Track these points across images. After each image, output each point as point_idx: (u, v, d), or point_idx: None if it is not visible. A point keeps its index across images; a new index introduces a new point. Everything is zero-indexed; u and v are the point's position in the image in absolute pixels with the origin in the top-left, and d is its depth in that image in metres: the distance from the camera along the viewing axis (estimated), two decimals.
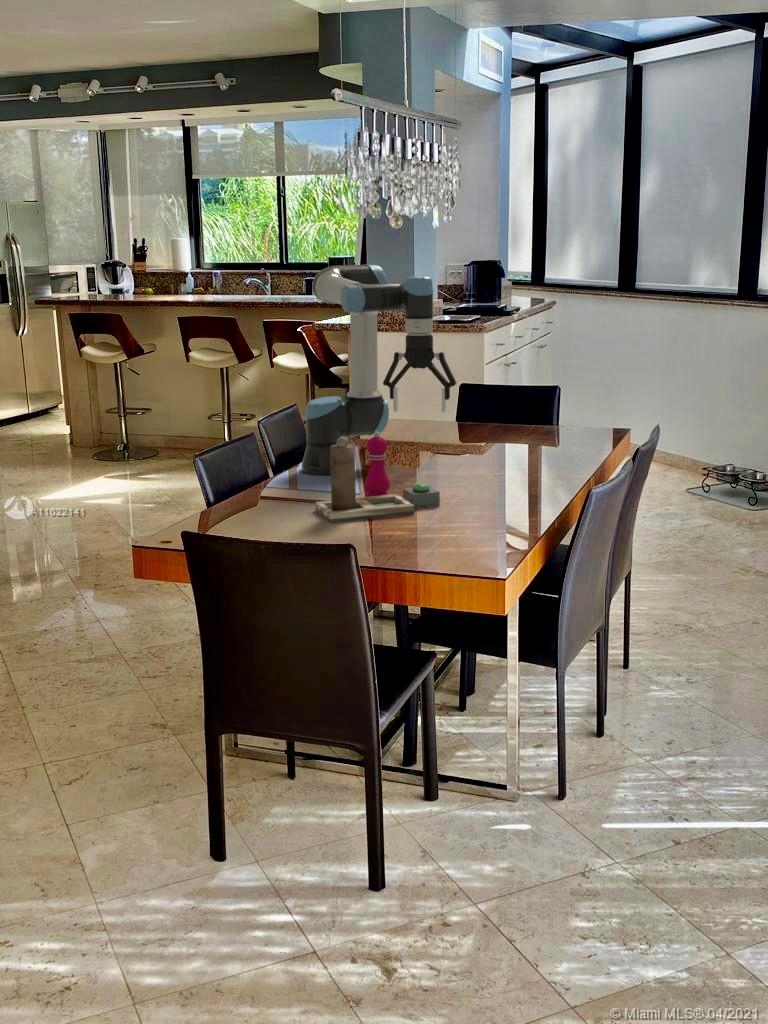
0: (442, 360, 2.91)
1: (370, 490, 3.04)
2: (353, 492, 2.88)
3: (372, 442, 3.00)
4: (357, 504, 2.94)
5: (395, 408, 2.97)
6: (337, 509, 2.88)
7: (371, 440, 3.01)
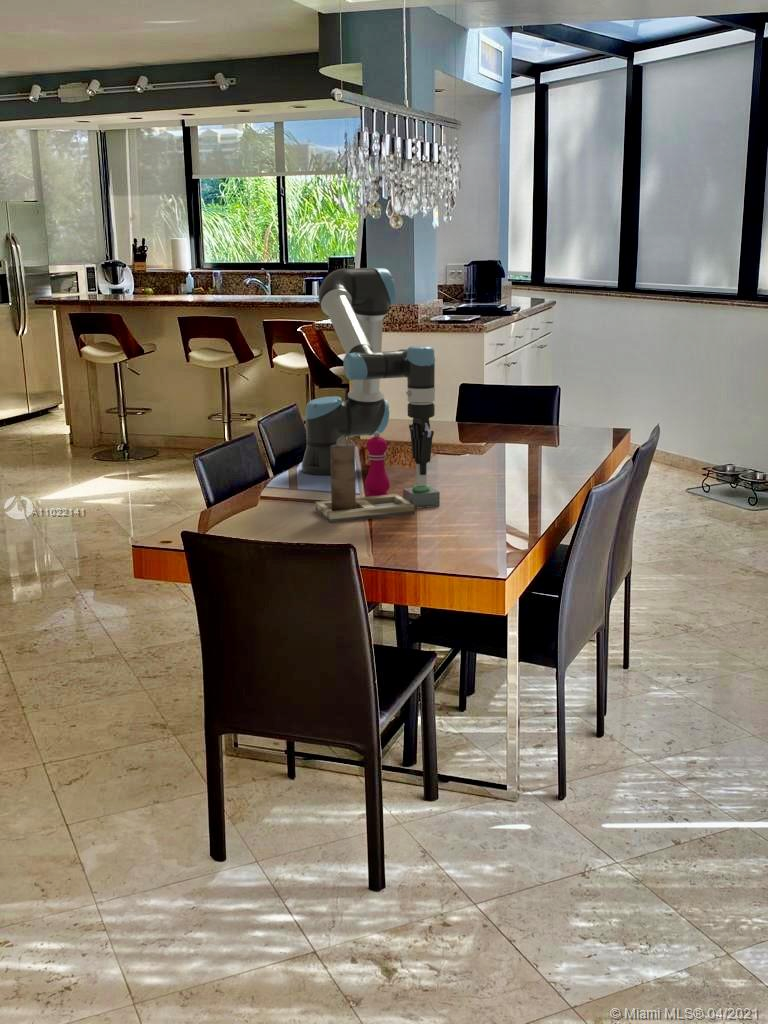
0: (423, 437, 2.92)
1: (370, 490, 3.04)
2: (353, 492, 2.88)
3: (372, 442, 3.00)
4: (357, 504, 2.94)
5: (416, 482, 3.00)
6: (337, 509, 2.88)
7: (371, 440, 3.01)
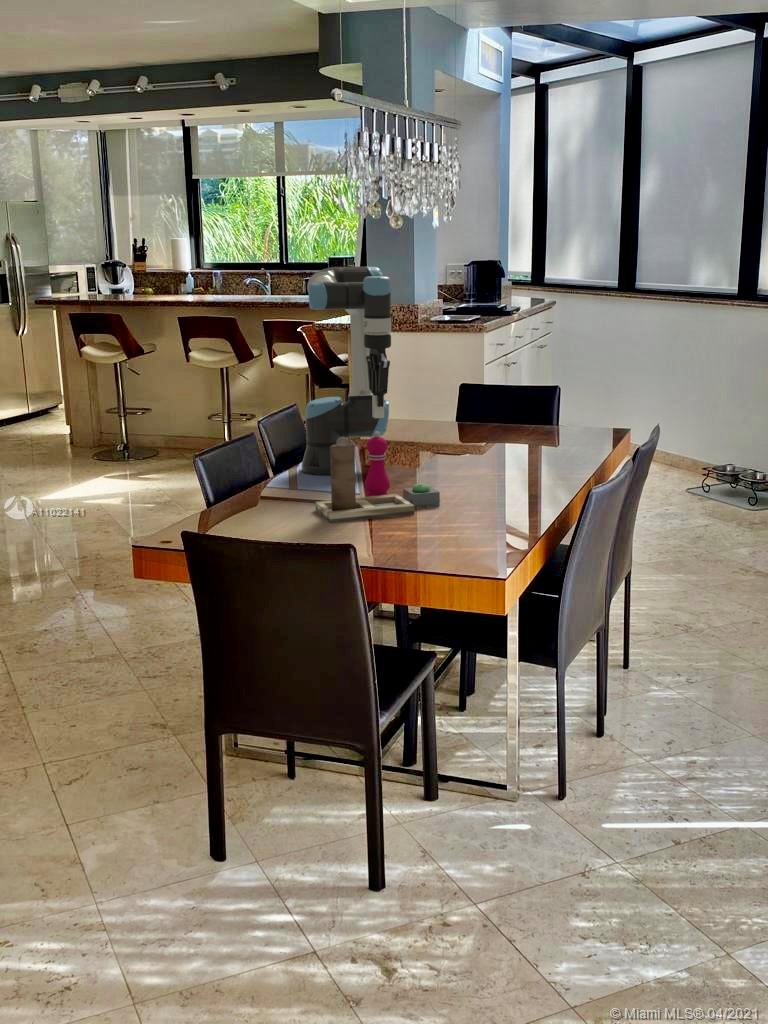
0: (380, 368, 2.92)
1: (370, 490, 3.04)
2: (353, 492, 2.88)
3: (372, 442, 3.00)
4: (357, 504, 2.94)
5: (373, 414, 3.01)
6: (337, 509, 2.88)
7: (371, 440, 3.01)
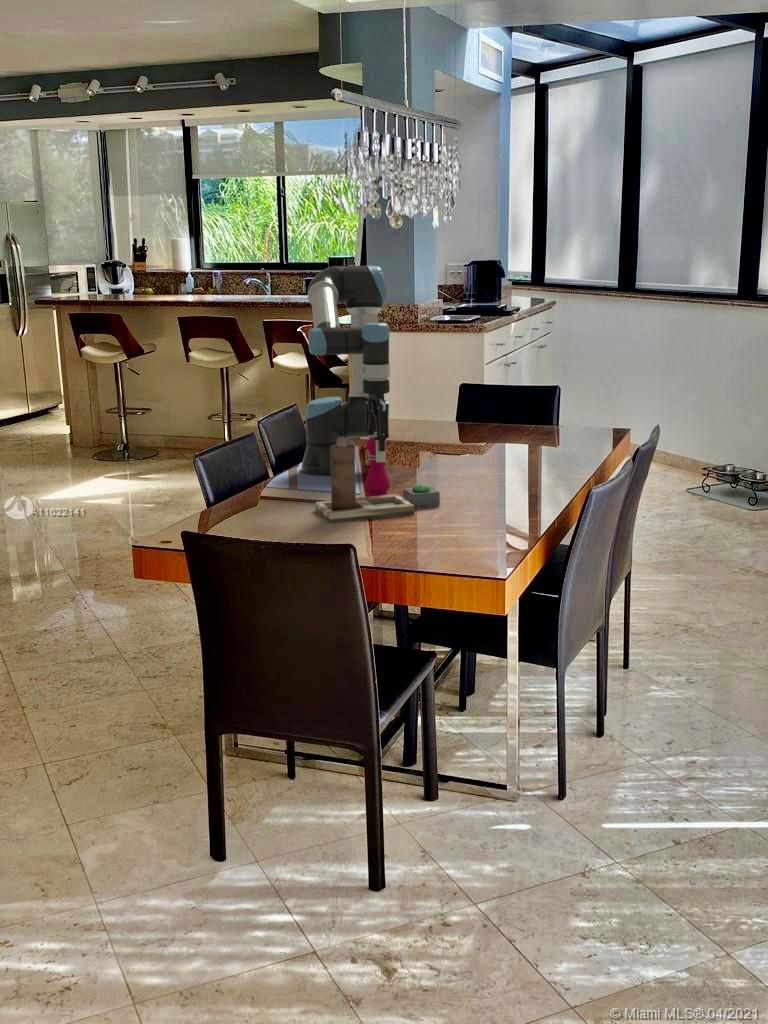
0: (379, 411, 2.94)
1: (370, 490, 3.04)
2: (353, 492, 2.88)
3: (372, 442, 3.00)
4: (357, 504, 2.94)
5: None
6: (337, 509, 2.88)
7: (371, 440, 3.01)
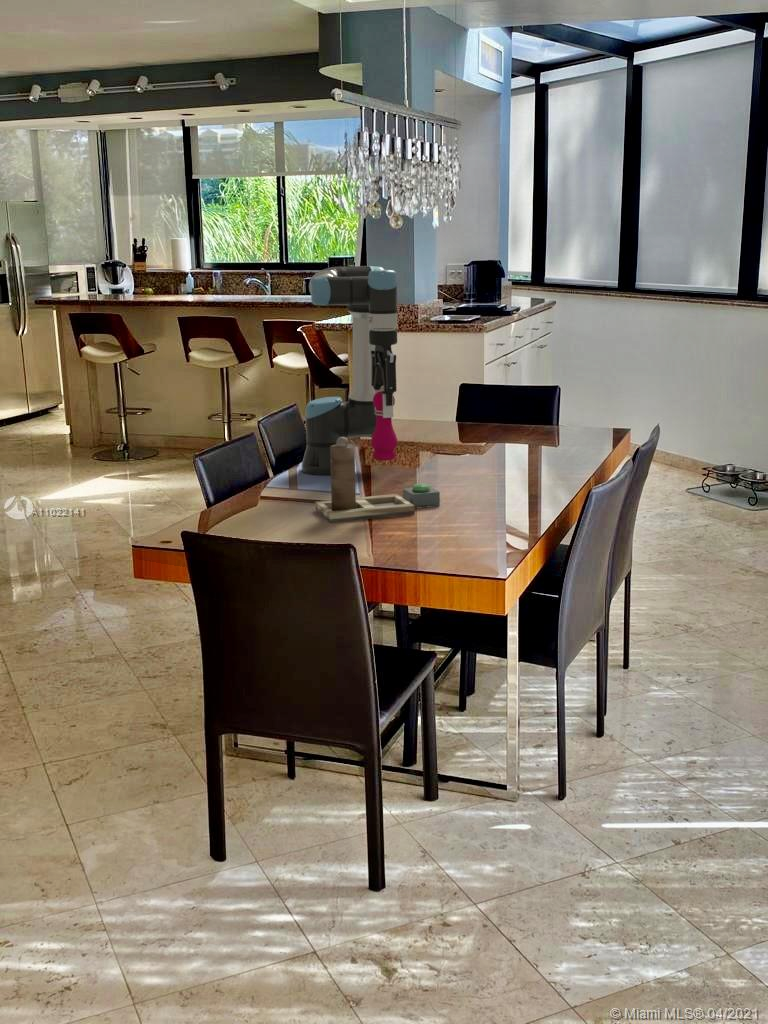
0: (386, 363, 2.79)
1: (377, 447, 2.88)
2: (353, 492, 2.88)
3: (379, 396, 2.85)
4: (357, 504, 2.94)
5: None
6: (337, 509, 2.88)
7: (378, 394, 2.86)
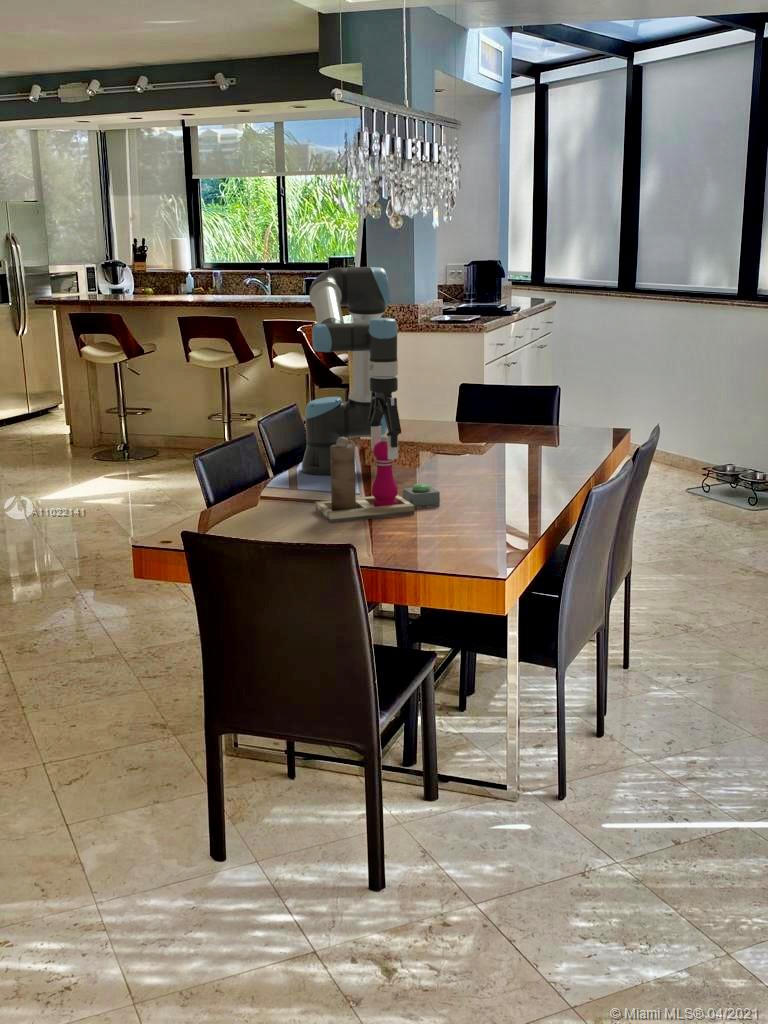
0: (388, 406, 2.81)
1: (377, 497, 2.92)
2: (353, 492, 2.88)
3: (380, 447, 2.89)
4: (357, 504, 2.94)
5: (372, 447, 2.97)
6: (337, 509, 2.88)
7: (378, 445, 2.89)
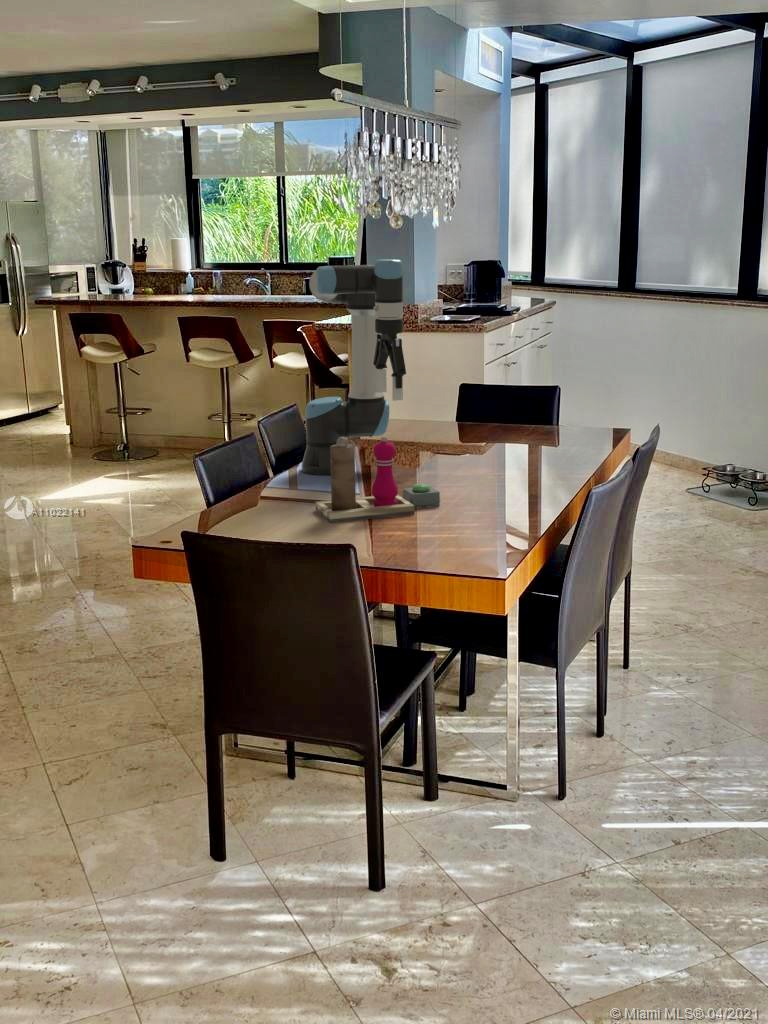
0: (393, 347, 2.82)
1: (377, 497, 2.92)
2: (353, 492, 2.88)
3: (379, 447, 2.89)
4: (357, 504, 2.94)
5: (377, 389, 2.98)
6: (337, 509, 2.88)
7: (378, 445, 2.89)
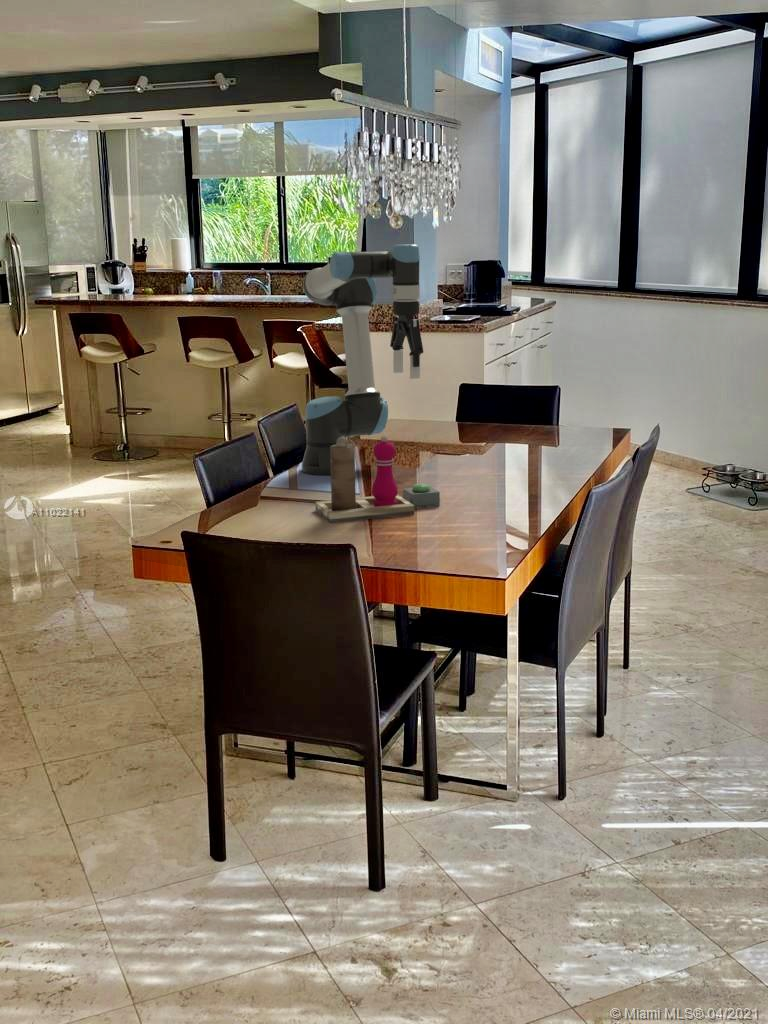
0: (410, 327, 2.96)
1: (377, 497, 2.92)
2: (353, 492, 2.88)
3: (379, 447, 2.89)
4: (357, 504, 2.94)
5: (394, 370, 3.12)
6: (337, 509, 2.88)
7: (378, 445, 2.89)
